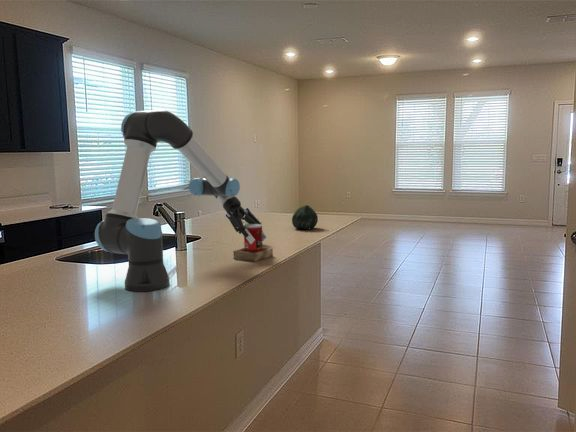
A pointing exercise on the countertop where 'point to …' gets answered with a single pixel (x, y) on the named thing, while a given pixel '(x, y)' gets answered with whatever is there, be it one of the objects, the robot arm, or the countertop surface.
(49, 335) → the countertop surface
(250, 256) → the crate
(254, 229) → the canned food
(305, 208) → the squash
